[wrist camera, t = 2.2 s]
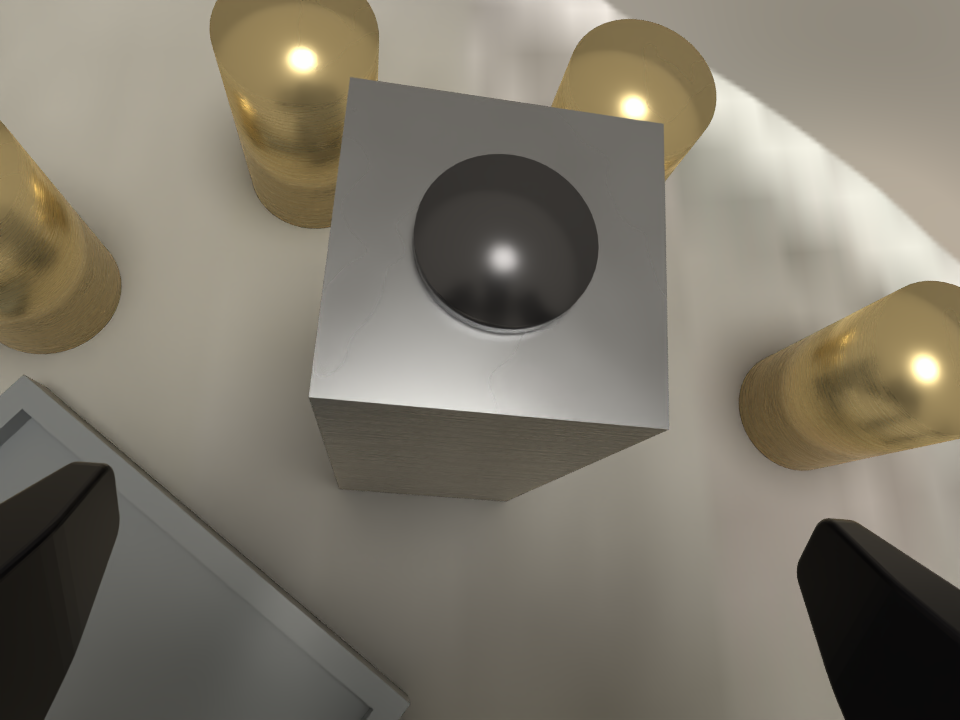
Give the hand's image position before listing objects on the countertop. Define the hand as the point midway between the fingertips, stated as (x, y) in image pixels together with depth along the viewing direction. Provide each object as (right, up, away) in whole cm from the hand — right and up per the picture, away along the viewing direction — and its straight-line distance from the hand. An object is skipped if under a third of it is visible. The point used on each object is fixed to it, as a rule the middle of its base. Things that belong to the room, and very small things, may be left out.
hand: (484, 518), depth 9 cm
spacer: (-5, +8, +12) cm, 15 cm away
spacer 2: (+10, 0, +13) cm, 16 cm away
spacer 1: (-12, +4, +10) cm, 16 cm away
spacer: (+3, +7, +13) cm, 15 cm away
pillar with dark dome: (-1, +1, +11) cm, 11 cm away
